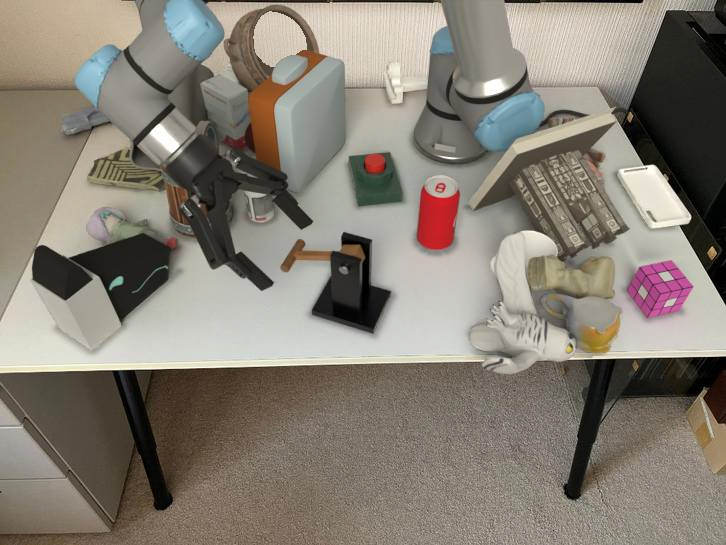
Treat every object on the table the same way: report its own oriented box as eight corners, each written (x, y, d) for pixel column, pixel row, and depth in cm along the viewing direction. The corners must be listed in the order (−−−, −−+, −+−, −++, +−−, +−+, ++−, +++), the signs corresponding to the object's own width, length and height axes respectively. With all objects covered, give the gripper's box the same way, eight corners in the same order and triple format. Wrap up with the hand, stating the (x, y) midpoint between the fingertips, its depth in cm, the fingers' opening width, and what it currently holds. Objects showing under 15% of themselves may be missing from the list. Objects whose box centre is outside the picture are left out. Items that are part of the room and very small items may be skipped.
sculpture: (621, 255, 94) (552, 252, 87) (622, 303, 94) (552, 304, 86) (590, 257, 99) (521, 254, 92) (591, 302, 99) (522, 303, 92)
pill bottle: (279, 209, 111) (275, 172, 105) (266, 226, 108) (260, 189, 102) (256, 202, 112) (251, 165, 106) (242, 218, 109) (235, 181, 103)
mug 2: (609, 339, 83) (600, 367, 88) (631, 307, 87) (622, 335, 92) (529, 300, 89) (525, 328, 94) (553, 271, 93) (548, 300, 98)
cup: (555, 292, 98) (565, 262, 93) (494, 300, 97) (501, 271, 92) (537, 257, 103) (546, 227, 98) (479, 264, 102) (485, 234, 97)
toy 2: (540, 222, 89) (581, 290, 96) (458, 248, 96) (501, 309, 104) (532, 354, 73) (581, 423, 80) (434, 373, 80) (487, 435, 88)
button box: (389, 161, 121) (390, 144, 118) (402, 201, 113) (403, 184, 110) (348, 165, 120) (348, 148, 117) (358, 206, 112) (358, 189, 109)
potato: (266, 166, 123) (239, 141, 123) (292, 138, 123) (266, 113, 123) (261, 158, 116) (233, 132, 116) (290, 128, 116) (262, 102, 116)
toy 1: (150, 251, 96) (68, 216, 98) (147, 280, 99) (67, 245, 101) (189, 225, 105) (113, 193, 108) (185, 251, 108) (111, 220, 110)
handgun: (45, 89, 130) (60, 128, 121) (151, 64, 137) (173, 98, 129) (51, 104, 132) (66, 142, 124) (155, 78, 140) (176, 112, 131)
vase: (227, 61, 131) (204, 134, 109) (208, 108, 138) (183, 186, 116) (169, 34, 127) (133, 105, 105) (153, 85, 134) (116, 161, 112)
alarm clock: (309, 131, 127) (303, 34, 111) (347, 143, 124) (346, 46, 109) (258, 182, 116) (243, 82, 100) (298, 197, 113) (289, 97, 98)
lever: (283, 275, 92) (277, 263, 91) (300, 248, 96) (294, 236, 94) (355, 277, 86) (349, 264, 85) (370, 248, 90) (365, 235, 89)
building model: (468, 202, 111) (516, 289, 106) (515, 139, 93) (576, 241, 88) (555, 171, 118) (604, 252, 113) (616, 106, 99) (677, 199, 95)
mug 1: (221, 244, 105) (204, 174, 94) (162, 235, 106) (139, 164, 95) (250, 185, 115) (239, 116, 104) (196, 178, 117) (179, 108, 106)
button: (382, 160, 115) (383, 152, 114) (386, 172, 112) (386, 164, 111) (363, 162, 114) (363, 154, 113) (366, 174, 112) (366, 166, 111)
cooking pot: (293, 30, 143) (328, 13, 134) (301, 113, 144) (337, 101, 135) (196, 9, 126) (229, -12, 117) (206, 104, 127) (240, 89, 118)
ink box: (256, 141, 124) (249, 88, 116) (238, 152, 122) (229, 99, 113) (228, 124, 128) (219, 72, 119) (210, 134, 126) (199, 82, 117)
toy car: (212, 102, 134) (205, 73, 129) (239, 75, 142) (233, 46, 137) (236, 106, 133) (230, 77, 128) (262, 78, 140) (257, 50, 135)
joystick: (391, 108, 133) (483, 101, 134) (393, 77, 127) (488, 69, 129) (383, 81, 140) (470, 74, 142) (384, 49, 134) (474, 43, 136)
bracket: (311, 315, 95) (306, 257, 85) (332, 278, 100) (329, 220, 90) (373, 334, 93) (375, 276, 83) (391, 295, 98) (394, 237, 88)
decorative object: (181, 273, 100) (159, 203, 89) (92, 351, 90) (55, 282, 79) (145, 253, 103) (120, 183, 92) (55, 326, 93) (14, 257, 82)
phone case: (690, 223, 109) (653, 169, 118) (693, 218, 108) (655, 163, 117) (649, 229, 108) (615, 174, 118) (651, 223, 107) (617, 168, 117)
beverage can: (456, 232, 107) (465, 177, 98) (448, 257, 103) (456, 202, 94) (421, 224, 109) (427, 169, 100) (411, 248, 105) (416, 193, 96)
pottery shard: (127, 150, 122) (124, 142, 121) (179, 185, 115) (176, 176, 113) (79, 177, 117) (75, 168, 115) (129, 215, 109) (126, 206, 108)
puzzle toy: (679, 310, 96) (694, 286, 92) (646, 318, 95) (660, 294, 91) (658, 283, 100) (671, 259, 95) (626, 290, 99) (638, 266, 94)
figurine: (581, 108, 123) (618, 175, 110) (575, 130, 127) (611, 196, 114) (547, 112, 123) (580, 179, 110) (542, 133, 127) (574, 200, 114)
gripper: (213, 114, 96) (307, 211, 104) (114, 216, 80) (234, 322, 88) (239, 91, 91) (336, 194, 98) (139, 195, 75) (264, 309, 83)
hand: (288, 255), depth 93 cm, fingers open, 13 cm apart
